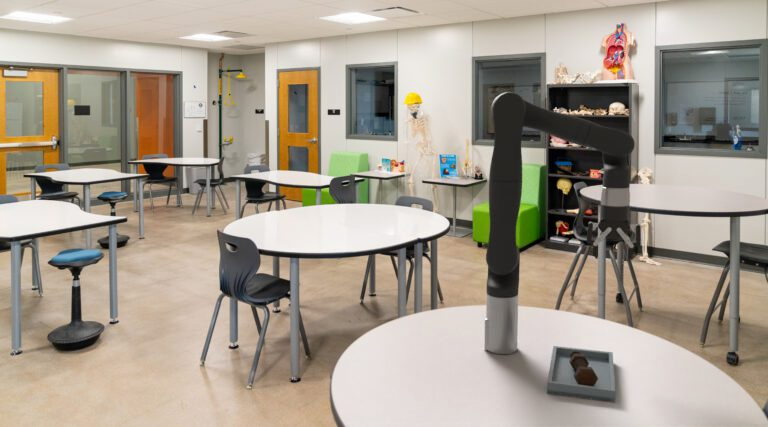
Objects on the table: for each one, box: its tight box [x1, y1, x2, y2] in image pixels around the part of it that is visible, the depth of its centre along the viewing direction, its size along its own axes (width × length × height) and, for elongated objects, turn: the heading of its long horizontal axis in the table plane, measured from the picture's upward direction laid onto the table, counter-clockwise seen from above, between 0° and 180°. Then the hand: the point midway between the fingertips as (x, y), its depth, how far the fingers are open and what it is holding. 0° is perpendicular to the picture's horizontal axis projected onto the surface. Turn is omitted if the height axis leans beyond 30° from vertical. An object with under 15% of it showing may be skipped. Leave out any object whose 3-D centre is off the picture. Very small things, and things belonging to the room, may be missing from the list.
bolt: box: [569, 352, 598, 386], centre depth 158 cm, size 6×5×15 cm
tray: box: [546, 345, 616, 403], centre depth 159 cm, size 16×24×3 cm, turn 161°
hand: (612, 259), depth 170 cm, fingers open, 8 cm apart
